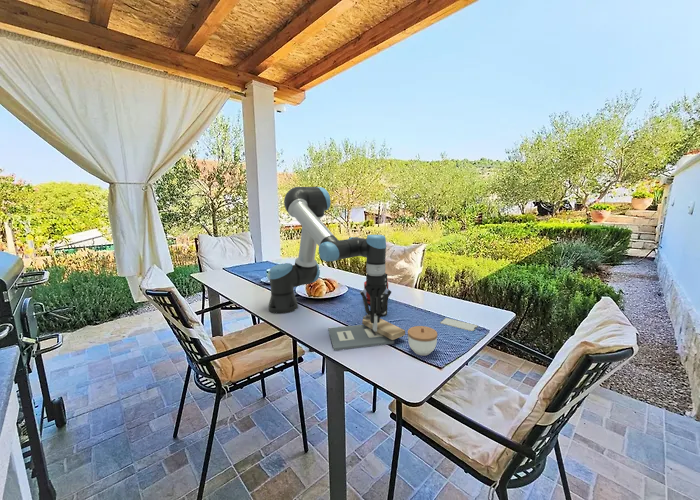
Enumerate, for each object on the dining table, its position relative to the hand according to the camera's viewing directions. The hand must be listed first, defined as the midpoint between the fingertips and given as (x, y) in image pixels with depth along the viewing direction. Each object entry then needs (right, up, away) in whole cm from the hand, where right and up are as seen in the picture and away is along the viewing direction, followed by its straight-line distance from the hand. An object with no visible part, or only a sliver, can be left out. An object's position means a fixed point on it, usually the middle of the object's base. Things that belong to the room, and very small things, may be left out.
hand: (374, 330), depth 120 cm
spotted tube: (+4, +1, +26) cm, 27 cm away
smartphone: (+39, -1, +12) cm, 41 cm away
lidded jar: (+17, -5, -10) cm, 20 cm away
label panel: (-6, -3, +2) cm, 7 cm away
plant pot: (+4, +3, +42) cm, 42 cm away
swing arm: (+3, 0, +4) cm, 5 cm away
